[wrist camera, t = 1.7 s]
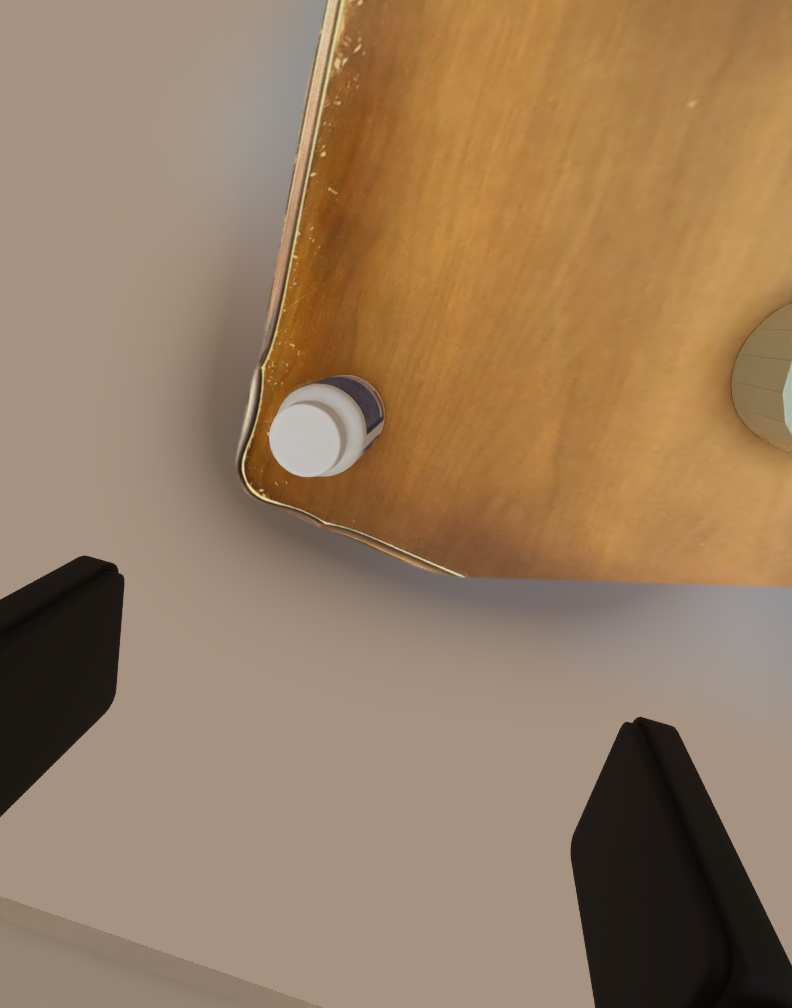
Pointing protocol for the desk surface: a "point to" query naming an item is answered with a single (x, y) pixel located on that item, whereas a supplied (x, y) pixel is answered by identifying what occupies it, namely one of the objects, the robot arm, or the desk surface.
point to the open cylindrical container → (766, 380)
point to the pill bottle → (326, 426)
